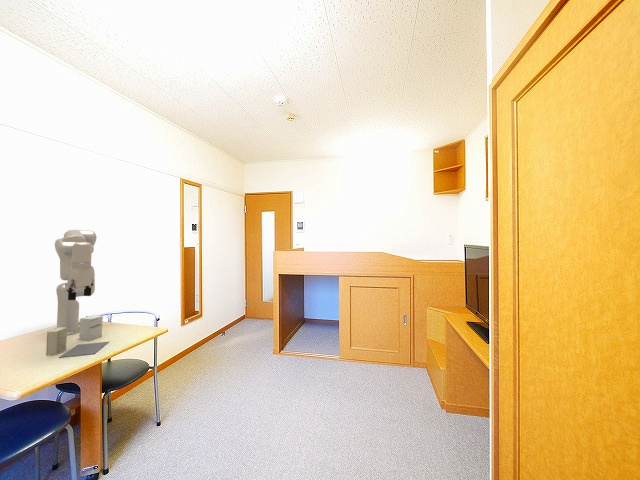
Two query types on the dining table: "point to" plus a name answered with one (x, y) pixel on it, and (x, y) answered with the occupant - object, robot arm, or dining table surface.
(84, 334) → the supplement box
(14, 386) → the dining table surface
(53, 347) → the skincare box
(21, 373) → the dining table surface
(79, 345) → the mat
